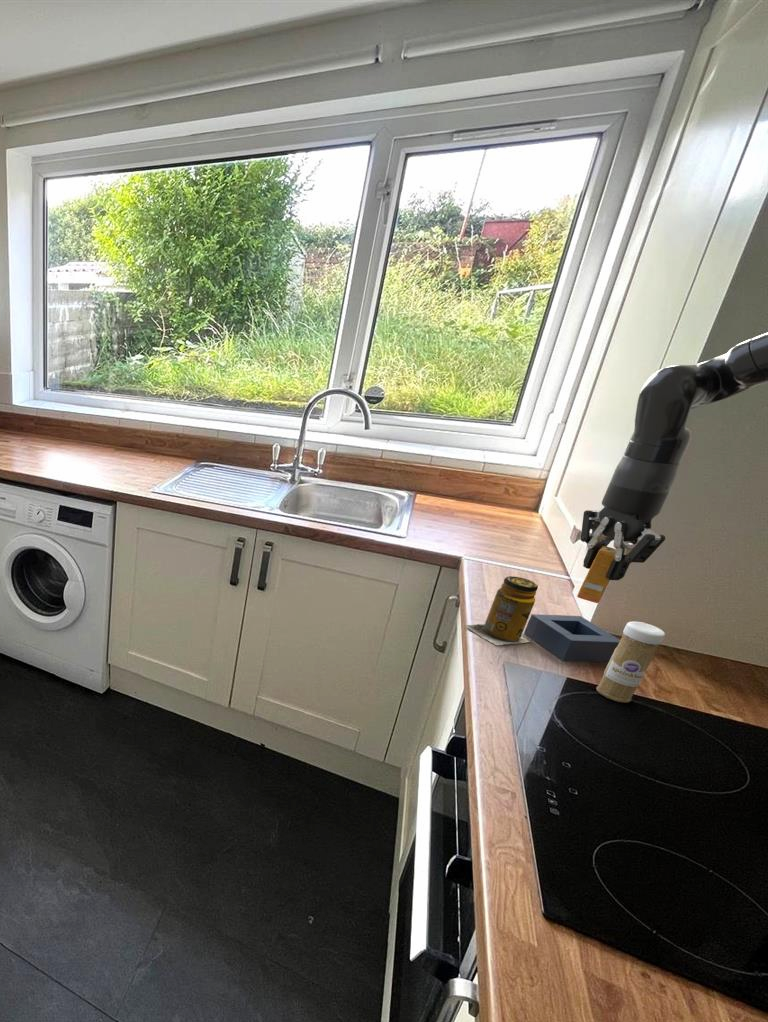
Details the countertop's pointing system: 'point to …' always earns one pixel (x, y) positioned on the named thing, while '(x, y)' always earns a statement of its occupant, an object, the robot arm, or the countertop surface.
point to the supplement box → (597, 576)
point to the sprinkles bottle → (630, 661)
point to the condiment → (508, 612)
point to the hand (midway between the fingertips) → (600, 573)
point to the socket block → (571, 638)
